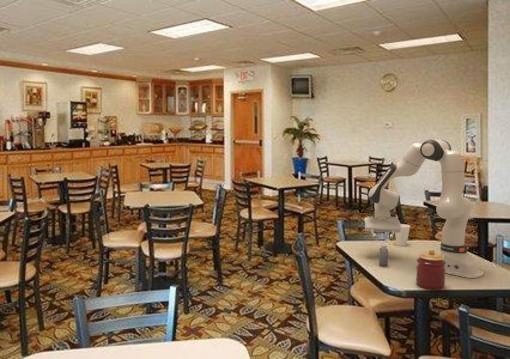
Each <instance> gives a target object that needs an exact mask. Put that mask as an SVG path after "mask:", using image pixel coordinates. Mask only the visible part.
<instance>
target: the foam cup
mask: <svg viewBox="0 0 510 359" xmlns="http://www.w3.org/2000/svg"><path fill="white" fill-rule="evenodd" d="M400 225H401V231H400V232H399V233H394V236H395V243H396V244H397V245H396V246H399V247H406V246H407V244H408V239H409V233H410V228H411V226H410V225H409V224H404V223H400Z"/></svg>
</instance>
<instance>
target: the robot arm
mask: <svg viewBox="0 0 510 359" xmlns="http://www.w3.org/2000/svg"><path fill="white" fill-rule="evenodd" d="M425 160H429V161H433V162H439V163H440V169H441V172H440V173H441V192H440V198H439V200H438V203H437V205H436V208H435V211H436V213H437V214H436V215H438V217H440V218H441V219H445V223H444V225H443V227H442V231H441V242H440V247H439V248H440V255H441V256H443V257H444V259H443V261H445V262H446V264H445V270H446V271H445V274H449V275H452V276H453V275H454V276H458V277H463V278H465V279H466V278H467V279H476V278H480V277H482V276H484V271H482V270H480V267H479V263H478V261H477V260H476V259H475V258H474V257H473V256H472V255H470V253H469V252H468V250H469V249H470V247H469V246H466V245H465V240H466V239H465V238H466V236H465V235H466V229H467V225H468V221H469V217H470V215H471V212H472V210H473V205H474V204H473V202H472V201H471V200H470V199H469V198H468V197H465V196H463V195H462V194H463V192H464V189H465V187H466V180H465V179H466V178H465V165H464V159H463V155H462V154H461V152H459V151H457V150H452V147H451V144H450V143H449V142H448V141H446V140H444V139H439V138H437V139H435V138H434V139H427V140H424V142H422V143H420V142H414V143H412V144H411V145H410V146H409V147H408V149H407V150H406V152H405V153H404V155H403V156H402V158H401V159H400V160H399V161H398V162H396V163H394V164H391V165H390V166H389V167H388V168H387V170H386V171H385V172H384V173H383V174H382V176H381V177H380V178H379V180H378V181H377V182H376V183H375V184H374V185H373V186H372V187H370V189H369V191H368V194H367V197H368V199H369V202H370V203H373V204H374V205H373V207H374V216H366V217H364V218H363V219H364V220H363V222H364V223H365V224H364V231H365V232H370V233H371V235H372V238H376V236H377V233H391V234H389V238H390V239H394V236H395V233H399V232H400V231H401V225H400V224H401V222H400V220H399V216H398V214H396V213H393V212H390V211H392V210H394V209H396V208H397V207H398V206H399V205H400V202H401V197H400V195H399V193H397V191H396V192H395V191H392V190H390V189H386V187H387V185H388V184H389V183H390V181H391V180H392V179H395V178H398V177H412V176H414V175H416V174H417V173H418V172H419V171H420V169H421V167H422V165H423V163H424V162H425ZM375 232H377V233H375Z"/></svg>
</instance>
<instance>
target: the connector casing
mask: <svg viewBox="0 0 510 359" xmlns="http://www.w3.org/2000/svg"><path fill="white" fill-rule="evenodd" d="M387 247H388V246H387V244H381V245H380V248H379V251H378V252H379V253H378V254H379V256H378V257H379V258H378V266H379V267H383V268H387V267H388V266H389V264H388V263H389V262H388V261H389V249H388V248H387Z"/></svg>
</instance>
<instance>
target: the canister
mask: <svg viewBox="0 0 510 359" xmlns="http://www.w3.org/2000/svg"><path fill="white" fill-rule="evenodd" d="M443 259H444V257H443V256H441V253H439V252H435V250H434V249H432V248H431V249H429V250H428V251H423V252H421V253H420V254H418V258H417V259H416V262H417V265H416V276H415V277H416V278H415V284H416V285H417V286H418V287H421V288H424V289H427V290H443V289H444V288H445V286H446V280H445V279H446V273H445V271H446V270H445V264H446V262H445V261H443Z"/></svg>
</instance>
